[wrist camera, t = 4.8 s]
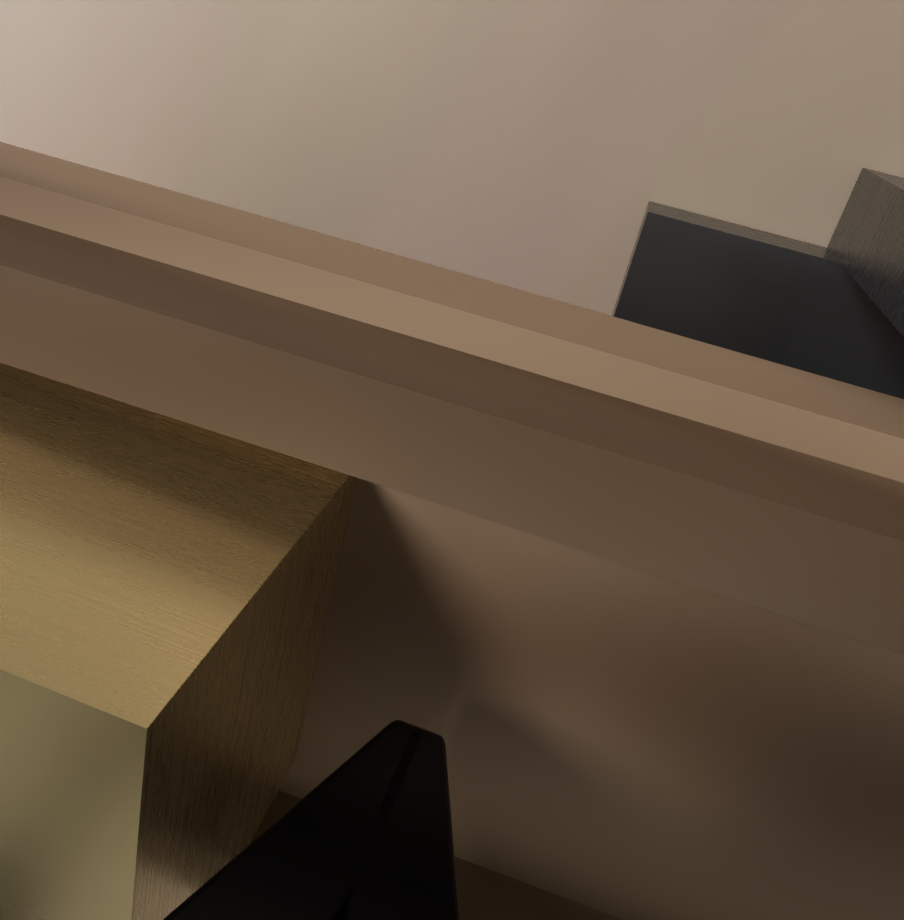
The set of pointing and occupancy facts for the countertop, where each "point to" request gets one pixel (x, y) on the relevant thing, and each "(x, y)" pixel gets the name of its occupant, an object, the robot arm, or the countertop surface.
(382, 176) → the countertop surface
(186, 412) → the beam
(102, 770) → the block
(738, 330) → the trestle
